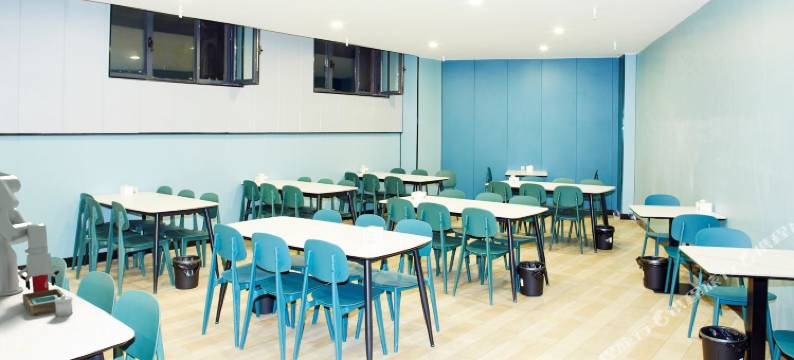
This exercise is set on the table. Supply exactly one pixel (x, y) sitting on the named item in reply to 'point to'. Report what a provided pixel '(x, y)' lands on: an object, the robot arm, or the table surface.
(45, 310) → the caddy
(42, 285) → the beverage can
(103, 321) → the table surface
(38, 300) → the socket
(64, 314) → the sugar pot
